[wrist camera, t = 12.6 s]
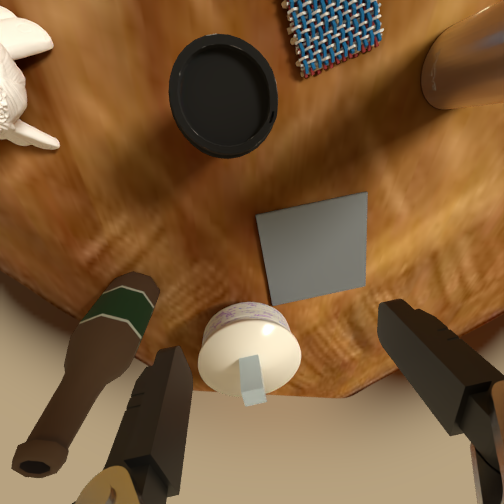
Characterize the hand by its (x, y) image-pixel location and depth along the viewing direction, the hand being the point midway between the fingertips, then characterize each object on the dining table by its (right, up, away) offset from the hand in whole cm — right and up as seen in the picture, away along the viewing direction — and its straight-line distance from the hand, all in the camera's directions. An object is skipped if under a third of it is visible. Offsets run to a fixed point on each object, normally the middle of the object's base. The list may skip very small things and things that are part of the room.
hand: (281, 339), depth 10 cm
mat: (+9, +3, +31) cm, 32 cm away
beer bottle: (-20, -3, +30) cm, 37 cm away
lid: (-2, -13, +29) cm, 32 cm away
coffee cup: (-5, +21, +21) cm, 30 cm away
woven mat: (+7, +31, +18) cm, 37 cm away
